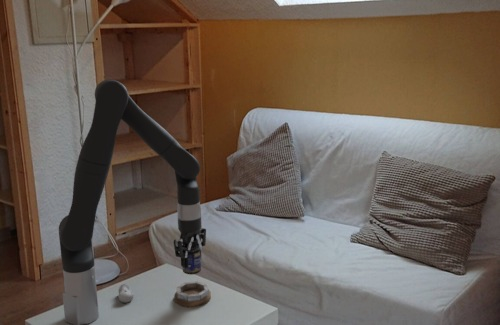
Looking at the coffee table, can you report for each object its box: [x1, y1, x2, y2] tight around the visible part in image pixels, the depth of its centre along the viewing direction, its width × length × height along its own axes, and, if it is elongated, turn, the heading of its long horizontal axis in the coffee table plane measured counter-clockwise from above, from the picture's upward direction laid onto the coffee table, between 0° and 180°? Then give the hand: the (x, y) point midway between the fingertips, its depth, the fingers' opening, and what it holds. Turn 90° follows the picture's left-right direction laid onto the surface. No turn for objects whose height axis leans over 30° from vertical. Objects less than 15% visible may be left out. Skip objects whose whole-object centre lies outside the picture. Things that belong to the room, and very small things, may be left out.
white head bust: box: [117, 283, 135, 304], centre depth 176 cm, size 4×8×5 cm
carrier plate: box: [174, 280, 212, 308], centre depth 176 cm, size 12×12×4 cm
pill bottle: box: [181, 239, 202, 275], centre depth 173 cm, size 6×6×11 cm
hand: (191, 263), depth 173 cm, fingers closed on pill bottle, 6 cm apart
